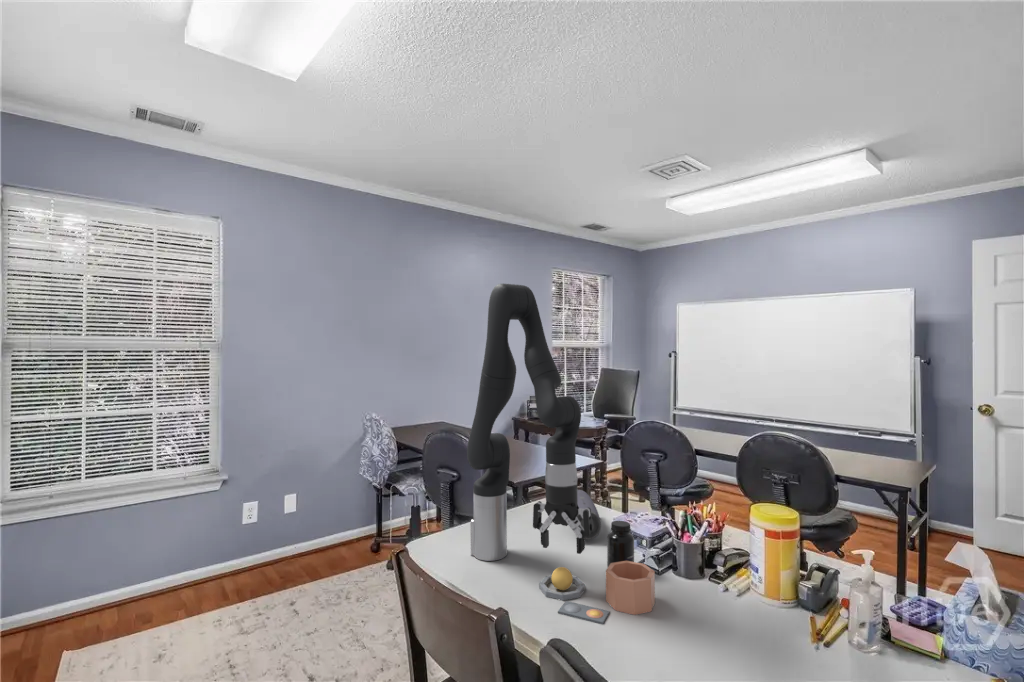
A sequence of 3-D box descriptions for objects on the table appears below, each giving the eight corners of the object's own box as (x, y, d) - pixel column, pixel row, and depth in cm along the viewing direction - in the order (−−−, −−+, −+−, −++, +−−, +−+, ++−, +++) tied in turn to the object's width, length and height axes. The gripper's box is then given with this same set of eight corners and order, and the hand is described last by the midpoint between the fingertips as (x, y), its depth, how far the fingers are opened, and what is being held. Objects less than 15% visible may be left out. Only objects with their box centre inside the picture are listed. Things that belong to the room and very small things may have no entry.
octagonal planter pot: (602, 607, 112) (602, 575, 112) (614, 587, 120) (614, 558, 121) (648, 618, 107) (648, 585, 107) (657, 596, 116) (657, 566, 116)
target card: (557, 613, 109) (557, 610, 109) (565, 602, 114) (565, 600, 114) (602, 624, 105) (602, 621, 105) (609, 612, 109) (609, 610, 109)
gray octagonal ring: (534, 593, 118) (534, 588, 118) (550, 576, 127) (550, 571, 127) (575, 603, 113) (575, 598, 113) (588, 584, 122) (588, 579, 122)
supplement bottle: (634, 577, 126) (634, 529, 126) (607, 575, 127) (606, 527, 127) (633, 565, 133) (633, 519, 133) (607, 563, 134) (607, 518, 134)
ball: (548, 591, 119) (548, 570, 119) (556, 582, 123) (556, 561, 123) (568, 596, 117) (568, 574, 117) (575, 586, 121) (575, 565, 121)
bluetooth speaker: (603, 544, 147) (603, 509, 147) (571, 544, 147) (571, 509, 147) (592, 517, 170) (591, 487, 170) (564, 517, 170) (564, 487, 170)
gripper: (527, 481, 120) (528, 550, 120) (584, 488, 114) (586, 560, 113) (540, 474, 127) (541, 540, 126) (594, 480, 120) (596, 548, 120)
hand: (562, 549), depth 120 cm, fingers open, 8 cm apart
